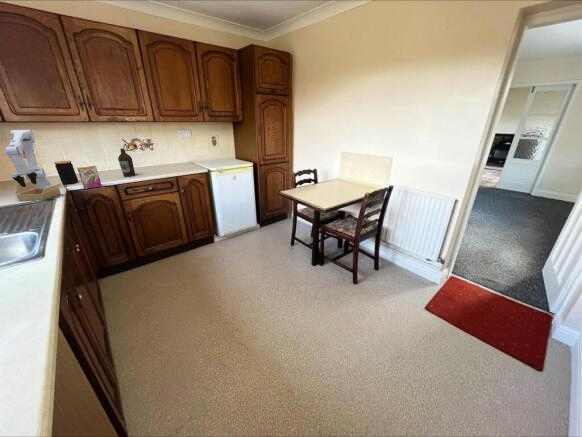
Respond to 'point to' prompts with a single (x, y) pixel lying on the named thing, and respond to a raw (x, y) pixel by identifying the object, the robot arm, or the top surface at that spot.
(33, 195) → the carton
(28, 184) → the flap
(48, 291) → the top surface
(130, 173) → the olive oil
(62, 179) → the coffee jar
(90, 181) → the candy bar box
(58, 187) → the flap
